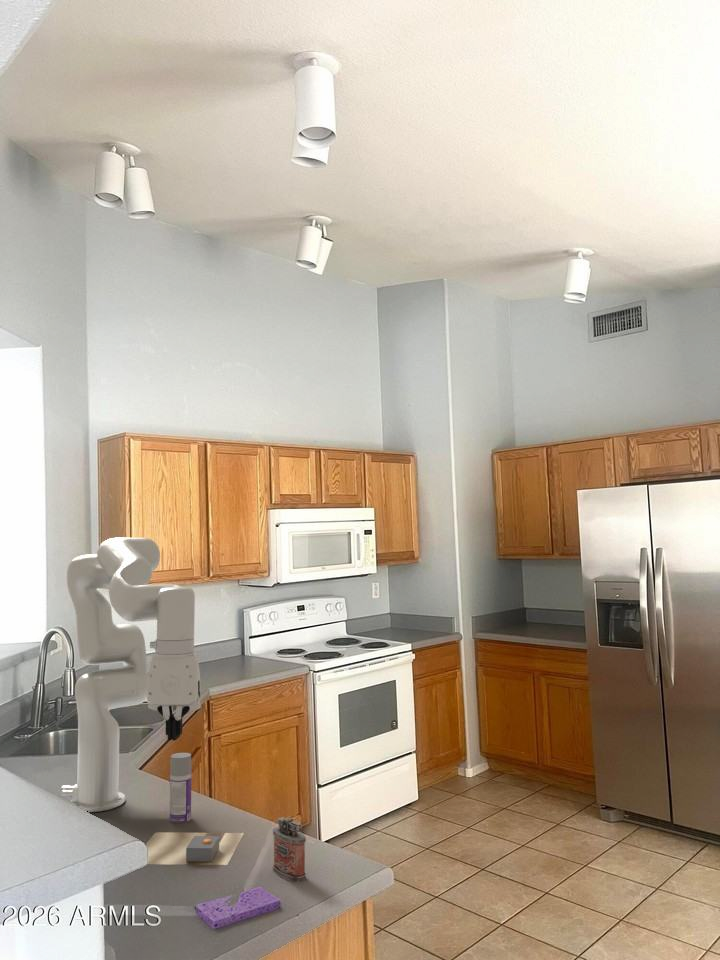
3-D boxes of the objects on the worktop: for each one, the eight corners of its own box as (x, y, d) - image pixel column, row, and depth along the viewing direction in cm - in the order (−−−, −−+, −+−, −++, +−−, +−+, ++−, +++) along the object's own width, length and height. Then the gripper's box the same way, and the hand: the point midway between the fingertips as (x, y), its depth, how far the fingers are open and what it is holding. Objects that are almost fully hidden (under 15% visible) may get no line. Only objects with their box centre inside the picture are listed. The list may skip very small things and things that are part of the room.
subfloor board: (128, 870, 143) (128, 864, 144) (155, 838, 159) (155, 832, 159) (227, 871, 142) (227, 864, 143) (244, 838, 158) (244, 832, 159)
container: (182, 819, 170) (182, 751, 172) (195, 823, 167) (195, 754, 169) (165, 825, 167) (165, 755, 168) (178, 830, 164) (178, 759, 165)
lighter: (268, 870, 143) (268, 816, 143) (282, 865, 145) (282, 811, 146) (295, 884, 137) (295, 827, 138) (310, 878, 139) (309, 822, 140)
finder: (186, 861, 144) (186, 846, 144) (194, 849, 150) (194, 834, 150) (211, 861, 144) (211, 846, 144) (219, 849, 150) (219, 834, 150)
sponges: (195, 916, 126) (195, 904, 127) (261, 895, 134) (261, 884, 134) (213, 933, 121) (213, 920, 121) (281, 910, 128) (281, 898, 128)
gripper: (133, 650, 151) (131, 743, 150) (206, 650, 150) (204, 744, 149) (146, 644, 159) (144, 733, 157) (215, 645, 158) (214, 734, 156)
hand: (173, 738), depth 153 cm, fingers closed
